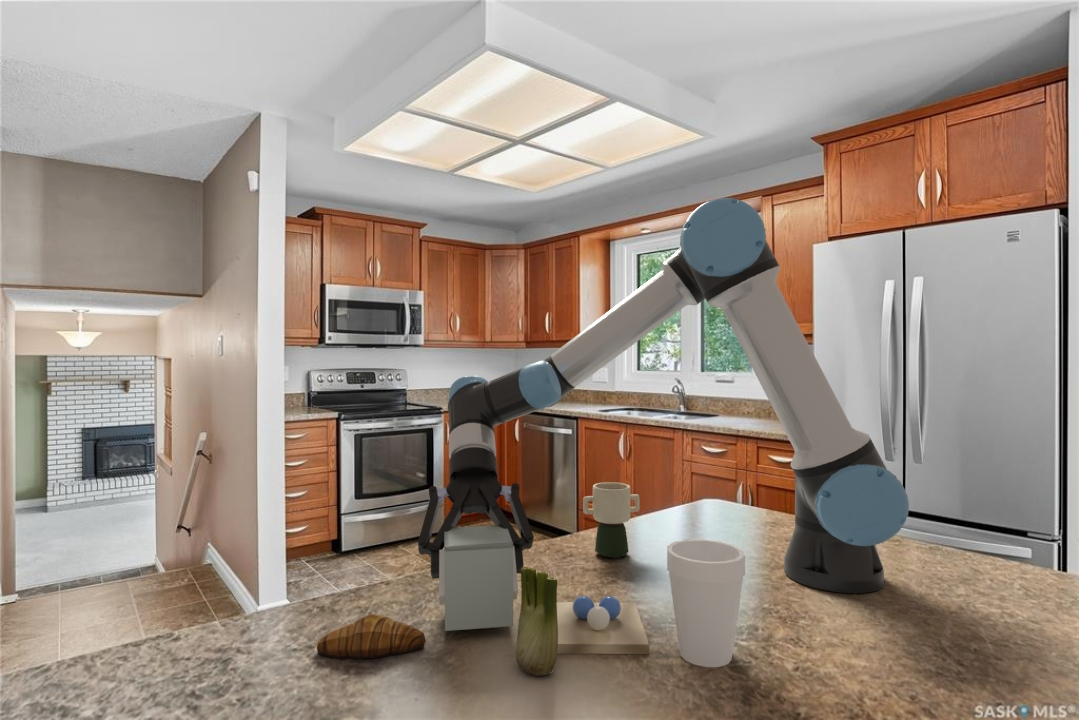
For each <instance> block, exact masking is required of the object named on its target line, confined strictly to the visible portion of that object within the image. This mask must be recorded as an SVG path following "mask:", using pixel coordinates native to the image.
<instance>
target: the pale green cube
mask: <svg viewBox="0 0 1079 720" xmlns="http://www.w3.org/2000/svg"><path fill="white" fill-rule="evenodd" d="M443 550H444V563H445V604H444V631H445V632H448V631H449V632H450V631H461V630H474V629H475V630H477V629H491V628H492V629H493V628H503V627H504V628H505V627H514V600H513V542H512V539H511V537H510V534H509V531H508V529H504V528H502V527H500V526H499V525H479V526H478V525H477V526H476V525H475V526H473V525H472V526H455V527H453V528H452V529H450V530H449V531H448V532H444V548H443Z"/></svg>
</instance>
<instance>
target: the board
mask: <svg viewBox="0 0 1079 720" xmlns="http://www.w3.org/2000/svg"><path fill="white" fill-rule="evenodd" d="M573 603H574V601H572V602H571V601H570V602H568V601H561V602H560V601H557V622H558V649H557V654H577V655H579V654H585V655H587V654H588V655H591V654H593V655H594V654H596V655H597V654H600V655H601V654H602V655H604V654H606V655H610V654H612V655H614V654H615V655H617V654H618V655H649V654H650V642H649V640H648V637H647V634H646V631H645V628H644V625H643V622H642V619H641V617H640V613H639V611H638V607H637V604H636V602H635V601H634V602H631V601H630V602H626V601H625V602H620V601H619V603H620V606H621V610H620V614H619V615H618V616H617V617H616V618H615V619H610V622H609V625H608V626H607V627H606V628H605V629H604V630H600V631H598V630H594V629H593V628H591V627H590V625H589V624H588V621H587V619H580V618H578V617H577V616H576V615H575V614H574V612H573ZM593 603H594V607H595V606H599V603H600V601H599V602H598V601H595V602H594V601H593Z"/></svg>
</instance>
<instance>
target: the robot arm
mask: <svg viewBox="0 0 1079 720" xmlns="http://www.w3.org/2000/svg"><path fill="white" fill-rule="evenodd" d="M679 237H680V238H679V242H680V243H679V245H680V246H679V248H678V249H677V250H676V251H675V252H674V253H673V254H672V255H671V256H670V257H668V258H667V259H666V260H664V261H663V262H662V267H661V270H660V271H659V272H658V273H657V274H655V276H653V277H651V278H650V279H648V281H647V282H645V283H644V284H642V285H641V286H640V287H639V288H637V289H636V290H635V291H633V292H632V293H631V294H629V295H628V296H627V297H626V298H624V299H623V300H621V301H620V302H619V303H618V304H616V305H615V306H614V307H612V308H610V310H608V311H607V312H606V313H604V314H602V316H601V317H599V318H598V319H596V320H595V321H593V322H592V324H590V325H588V326H587V327H586V328H585V329H583V330H582V331H581V332H579V333H578V334H577V335H576V336H574V337H573V338H572V339H571V340H569V341H568V342H566V343H565V344H564V345H562V346H561V347H560V348H558V349H557V350H556V351H554V352H553V353H552V354H551V355H549V357H547V358H545V359H544V360H539V361H536V362H534V363H533V362H532V363H530V364H526V365H523V367H521V368H518V369H516V370H513V371H511V372H508V373H506V374H504V375H501V376H499V377H497V378H495V379H492V380H489V381H488V380H487V379H486V378H484V377H482V376H478V375H472V376H468V375H465V376H462V377H459V378H458V379H456V380H455V381H453V383H452V384H451V386H450V387H449V394H448V401H447V410H448V411H447V412H448V430H449V432H448V434H449V435H448V458H449V461H448V471H449V472H448V479H449V480H448V483H447V486H446V487H442V488H437V486H434V485H432V486H430V487H428V502H429V503H428V505H427V509H426V513H425V516H424V519H423V523H422V527H421V531H420V533H419V538H418V542H417V545H418V546H417V547H418V553H419V554H420V555H427V556H429V557H430V576H431V580H432V579H439V580H438V582H439V583H438V593H439V594H438V599H439V602H438V604H439V605H445V563H444V532H448V531H449V530H450V529H452V528H453V527H457V523H458V522H459V521H460V519H461V518H462V516H463V514H464V515H471V514H481V515H482V514H486V515H487V516H488V517H489V519H490V520H491V521H493V523H494V524H495V525H499V526H500V527H502V528H504V529H508V531H509V534H510V537H511V539H512V542H513V601H514V600H515V601H516V600H517V598H518V594H519V585H518V584H519V583H518V574H521V568H522V567H525V566H524V564H525V563H524V558H523V557H524V555H523V551H524V550H526V549H527V550H530V549H531V548H532V547H533V544H534V543H533V542H534V539H535V538H534V536H535V535H534V534H533V531H532V527H531V526H530V523H529V520H528V517H527V515H526V511H525V509H524V506H523V503H522V501H521V498H520V485H519V484H518V483H517V482H514V483H512V484H511V486H509V485H502V483H501V482H500V481H499V480H500V479H499V473H498V463H497V462H498V461H497V448H496V434H495V427H496V426H499V425H501V424H505V423H507V422H510V421H512V420H514V419H518V418H521V417H523V416H526V415H529V414H531V413H534V412H537V411H539V410H544V409H546V408H551V407H553V406H555V405H556V404H558V403H559V402H560V401H561V400H562V399H563V398H564V396H566V395H567V394H568V393H570V392H571V391H573V390H574V389H575V388H577V386H579V385H580V384H583V382H584V381H586V380H587V379H589V378H590V377H591V376H593V375H594V374H595V373H597V372H598V371H599V370H601V369H602V368H604V366H607V365H608V364H609V363H610V362H612V361H614V359H616V358H617V357H619V356H620V355H621V354H622V353H624V352H625V351H626V350H628V349H629V348H631V347H632V346H633V345H634V344H636V343H637V342H639V341H640V340H642V339H643V338H645V336H647V335H649V333H651V332H653V331H654V330H655V329H656V328H657V327H659V326H661V325H662V324H663V323H664V322H666V321H667V320H669V319H670V318H672V316H674V315H675V314H677V313H679V311H681V310H682V309H683V308H685V307H686V306H689V305H690V306H698V305H699V304H700V303H701V302H703V301H704V300H705V301H706V303H707V304H708V306H709V305H710V306H713V307H716V308H719V309H720V310H722V312H723V313H724V315H725V317H726V319H727V321H728V323H729V325H730V327H731V329H732V331H733V333H734V335H735V337H736V339H737V340H738V343H739V345H740V347H741V348H742V351H743V353H744V355H745V356H746V358H747V360H748V362H749V364H750V366H751V368H752V370H753V372H754V374H755V376H756V378H757V379H758V382H759V384H760V386H761V388H762V390H763V391H764V393H765V396H766V397H767V399H768V401H769V403H770V405H771V407H772V409H773V411H774V412H775V415H776V416H777V419H778V421H779V422H780V425H781V426H782V428H783V431H784V432H785V434H786V436H787V438H788V440H789V442H790V444H791V445H792V448H793V450H794V454H793V456H792V458H791V462H790V467H791V469H792V471H793V473H794V479H795V480H794V515H795V516H794V520H795V521H794V529H793V532H792V535H791V538H790V541H789V544H788V546H787V549H786V552H785V554H784V558H783V561H784V562H783V571H784V573H785V575H786V576H787V577H788V578H790V579H792V580H793V581H794V582H797V583H799V584H802V585H804V586H808V587H811V588H814V589H819V590H822V591H829V592H833V593H843V594H865V593H873V592H877V591H879V590H881V589H882V588H883V587H884V585H885V570H884V567H883V564H882V561H881V558H880V554H879V552H878V549H877V547H876V546H877V545H880V544H882V543H884V542H887V541H888V540H890V539H892V538H893V537H895V536H896V535H897V534H898V533H899V532H900V531H901V530H902V528H903V527H904V524H905V523H906V521H907V519H908V516H909V510H910V507H909V506H910V505H909V504H910V503H909V498H908V497H909V496H908V494H907V492H906V489H905V487H904V486H903V484H902V482H901V481H900V480H899V479H898V478H897V475H895V474H893V473H892V472H891V471H890V470H888V469H887V467H886V465H885V463H884V461H883V459H882V458H881V455H880V454H879V451H878V450H877V448H876V446H875V445H874V442H873V440H872V438H871V437H870V435H869V434H868V433H865V432H862V431H860V430H857V429H855V428H854V427H852V424H851V423H850V421H849V419H848V417H847V415H846V414H845V412H844V410H843V408H842V406H841V404H840V402H839V400H838V398H837V396H836V395H835V392H834V391H833V388H832V387H831V385H830V383H829V381H828V379H827V377H826V376H825V374H824V371H823V370H822V368H821V366H820V363H819V362H818V360H817V358H816V357H815V354H814V353H813V350H812V349H811V347H810V345H809V343H808V341H807V339H806V337H805V335H804V334H803V331H802V330H801V328H800V325H799V324H798V322H797V320H796V318H795V316H794V314H793V313H792V311H791V309H790V307H789V305H788V303H787V301H786V299H785V297H784V295H783V293H782V292H781V290H780V288H779V286H778V284H777V279H778V276H779V273H780V270H781V266H780V264H779V263H778V260H777V259H776V256H775V254H774V253H773V251H772V249H771V247H770V245H769V243H768V241H767V233H766V228H765V223H764V221H763V219H762V217H761V216H760V213H758V212H757V210H756V209H755V208H754V207H753V206H752V205H750V204H748V202H745V201H743V200H741V199H736V198H733V197H720V198H719V197H718V198H714V199H712V200H711V199H710V200H708V201H706V202H704V203H702V204H701V205H699V206H698V207H696V208H695V210H693V212H691V213H690V215H689V216H688V218H687V219H686V221H685V223H684V224H683V227H682V229H681V232H680V236H679ZM500 496H504V499H505V501H507V502H509V506H510V509H511V513H512V515H513V518H514V521H515V524H516V527H517V530H518V532H519V535H520V536H519V535H518V533H517V531H516V529H515V528H514V527H513V525H512V524H511V522H510V520H509V519H508V518H507V516H506V515H505V514H504V511H503V510H502V508H501V507H500V504H499V502H498V499H499V498H500ZM446 497H447V499H448V500H449V501H450V502H451V503H452V505H451V508H450V510H449V512H448V513H447V516H446V518H445V519H444V520H443V522H442V525H441V527H440V528H439V530H438V532H437V534H436V535H435V537H434V538H433V539H434V540H433V541H431V539H432V534H433V530H434V527H435V523H436V519H437V514H438V512H439V505H441V504H442V503H443V502H444V499H445V498H446Z"/></svg>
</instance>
